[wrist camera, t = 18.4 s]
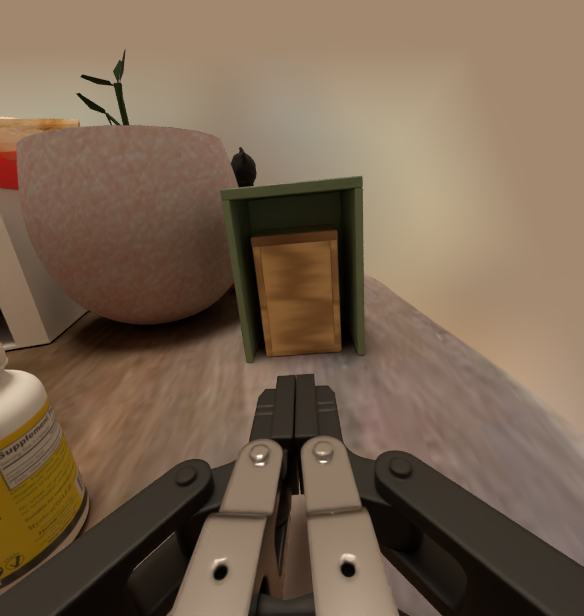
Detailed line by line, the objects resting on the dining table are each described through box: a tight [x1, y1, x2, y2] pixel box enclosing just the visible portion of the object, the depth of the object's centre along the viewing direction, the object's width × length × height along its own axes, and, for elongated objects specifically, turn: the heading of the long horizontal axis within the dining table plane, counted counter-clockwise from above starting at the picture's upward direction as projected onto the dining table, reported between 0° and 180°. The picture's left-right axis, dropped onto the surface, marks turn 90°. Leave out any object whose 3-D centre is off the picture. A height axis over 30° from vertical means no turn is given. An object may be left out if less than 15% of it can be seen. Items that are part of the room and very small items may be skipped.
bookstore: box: [0, 157, 88, 350], centre depth 46 cm, size 21×35×21 cm, turn 15°
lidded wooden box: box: [251, 224, 342, 357], centre depth 30 cm, size 7×7×11 cm
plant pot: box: [17, 51, 239, 325], centre depth 37 cm, size 24×24×30 cm
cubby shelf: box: [220, 176, 365, 362], centre depth 29 cm, size 11×9×15 cm
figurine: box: [231, 147, 256, 188], centre depth 64 cm, size 11×13×25 cm
